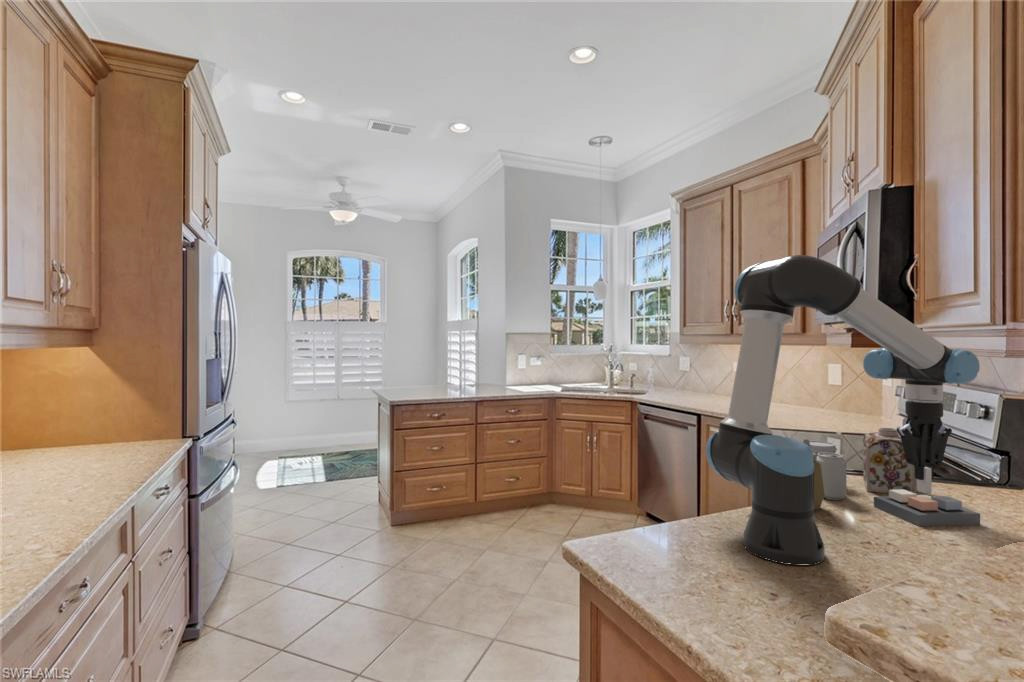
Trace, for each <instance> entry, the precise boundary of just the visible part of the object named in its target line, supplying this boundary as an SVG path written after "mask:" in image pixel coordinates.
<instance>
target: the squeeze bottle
mask: <svg viewBox="0 0 1024 682" xmlns="http://www.w3.org/2000/svg"><path fill="white" fill-rule="evenodd" d="M809 441H810V439H808V438H804V439H803V440H802V442H803V443H805V444H806V445H807V446H809V448H810V449H811V446H810V442H809ZM811 451H812V450H811ZM812 453H813V452H812ZM816 460H817V454H816V453H813V463H814V466H815V467H814V511H815V510H817V511H818V510H819V509H820V508H821V507H822V503H823V501H824V499H825V498H824V496H825V494H824V486H823V478H822V470H821V464H820V463H819V462H817V461H816Z"/></svg>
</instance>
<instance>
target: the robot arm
mask: <svg viewBox="0 0 1024 682" xmlns="http://www.w3.org/2000/svg"><path fill="white" fill-rule="evenodd" d="M862 287H863V285H862V282H861V280H860V279H858V278H857V277H855V276H854V275H852V274H851V273H849V272H848V271H847V270H845V269H842V268H841V267H839V266H837V265H835V264H834V263H831V262H830V261H827V260H824V259H821V258H820V257H815V256H811V255H807V254H795V255H790V256H786V257H783V258H777V259H774V260H769V261H761V262H758V263H756V264H754V265H751V266H749V267H747V268H746V269H744V270H742V272H741V273H739V276H738V277H737V279H736V281H735V284H734V289H733V290H734V297H735V299H736V300H737V303H738V305H739V306H740V308H739V314H740V315H741V317H742V318H743V319H744V324H743V330H742V336H741V342H740V347H739V352H738V358H737V362H736V363H737V364H736V370H735V376H734V380H733V386H732V392H731V397H730V403H729V409H728V414H727V416H726V417H725V418H723V419H721V420H720V421H719V426H718V430H716V431H713V434H711V435H710V436H709V438H708V440H707V442H706V446H705V457H706V460H707V463H708V465H709V466H710V468H711V469H712V470H713V471H714V472H715V473H716V474H717V475H719V476H721V477H722V478H723V479H725V480H726V481H729V482H733V483H735V484H738V485H740V486H742V487H744V488H747V489H749V490H751V512H750V514H749V517H748V518H747V523H746V526H745V529H744V532H743V536H742V537H743V538H742V539H743V540H742V541H743V544H742V545H743V547H744V546H745V547H746V548H745V547H744V548H745V550H747V549H748V550H749V551H750V552H749V551H748V550H747V551H748V552H749V553H751V552H752V553H754V554H756V555H758V556H761V557H763V558H767V559H770V560H774V561H777V562H783V563H791V564H815V563H818V562H821V561H822V562H824V561H825V559H824V558H825V557H826V556H825V554H826V553H825V544H824V541H823V539H822V536H821V534H820V531H819V527H818V525H817V523H816V520H815V510H814V467H815V466H814V463H813V453H812V451H811V449H810V448H809V446H807V445H806V444H805V443H803V441H800V440H799V439H795V438H792V437H787V436H786V437H785V436H782V435H777V434H774V433H773V431H772V430H771V428H770V427H769V426H768V420H769V413H770V408H771V403H772V397H773V391H774V385H775V379H776V375H777V368H778V363H779V357H780V351H781V345H782V339H783V334H784V330H785V329H784V328H785V325H786V324H789V322H792V321H793V318H794V314H795V308H797V307H803V308H804V307H805V308H810V309H814V310H817V311H818V312H820V313H821V314H823V315H825V316H828V317H829V316H830V317H831V316H835V317H837V318H838V319H839V320H841V321H843V322H844V323H846V324H847V325H849V326H850V327H852V328H853V329H855V330H856V331H858V332H859V333H861V334H862V335H864V336H865V337H867V338H868V339H870V340H871V341H873V342H874V343H876V344H878V346H880V347H881V348H875V349H872V350H869V351H868V352H867V353H866V354H865V355H864V357H863V359H862V360H863V361H862V365H863V366H862V367H863V370H864V372H865V373H866V374H867V375H868V376H869V377H871V378H873V379H880V380H887V379H891V380H893V379H894V380H904V381H905V382H904V383H905V387H904V388H905V390H904V392H905V394H904V396H905V397H904V398H905V399H906V400H905V406H904V407H905V409H904V410H905V414H906V416H907V418H906V421H905V425H903V426H902V427H900V426H897V427H896V429H897V432H898V434H899V435H900V436H901V441H902V445H903V449H904V453H905V458H906V462H907V463H909V464H912V465H914V467H915V479H917V492H919V493H923V494H924V495H932V494H933V493H932V486H933V485H932V482H933V480H934V469H935V470H936V469H938V467H939V466H941V465H942V464H943V460H944V457H945V452H946V448H947V444H948V443H947V442H948V438H949V436H950V435H951V434H952V432H953V430H952V428H950V427H946V426H944V425H943V421H942V419H941V418H943V416H944V404H943V402H941V401H943V400H944V384H949V385H953V384H969V383H972V382H973V381H974V380H975V379H977V376H978V374H979V372H980V368H981V367H980V361H979V359H978V357H977V355H976V353H973V352H972V351H971V350H970V351H969V350H964V349H959V348H958V349H957V348H956V349H952V348H950V347H948V346H946V345H944V344H943V343H941V342H940V341H939V340H937V339H936V338H935V337H933V336H931V334H929V333H927V332H926V331H924V330H923V329H922V328H920V327H918V326H917V325H916V324H914V323H913V322H911V321H910V320H908V319H907V318H906V317H904V316H903V315H901V314H900V313H898V312H896V311H895V310H894V309H892V308H891V307H890V306H888V305H887V304H885V303H883V302H882V301H881V300H879V298H876V297H875V296H873V295H872V294H871V293H869V292H868V291H866V290H865V289H864V288H862ZM752 553H751V554H752ZM754 554H753V555H754ZM756 555H755V556H756ZM758 556H757V557H758ZM761 557H760V558H761ZM763 558H762V559H763ZM777 562H776V563H777ZM822 562H821V563H822ZM818 564H819V563H818ZM815 565H816V564H815Z"/></svg>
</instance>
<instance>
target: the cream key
mask: <svg viewBox="0 0 1024 682" xmlns="http://www.w3.org/2000/svg"><path fill="white" fill-rule="evenodd" d="M917 495H918V493H917V494H915V493H912V492H910V491H907V490H904V489H898V490H889V494H888V496H889V498H892V499H894V500H897V501H898V503H899V504H908V497H917Z"/></svg>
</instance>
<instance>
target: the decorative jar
mask: <svg viewBox="0 0 1024 682" xmlns="http://www.w3.org/2000/svg"><path fill="white" fill-rule="evenodd" d="M862 442H863V446H862V448H863V449H862V451H863V452H862V453H863V454H862V455H863V456H862V464H863V467H862V470H863V474H862V475H863V485H864V487H865V489H866V491H867V492H872V493H879V494H888V495H889V490H898V489H904V490H907V491H910V492H912V493H915V494H917V495H918V491H917V479H915V467H914V465H912V464H909V463H907V462H906V458H905V453H904V449H903V445H902V441H901V436H900V435H899V433H898V432H897V428H892V427H879V428H878V432H867V433H865V434H864V435H863V440H862Z"/></svg>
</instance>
